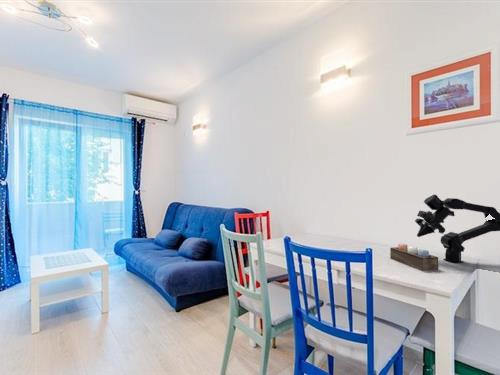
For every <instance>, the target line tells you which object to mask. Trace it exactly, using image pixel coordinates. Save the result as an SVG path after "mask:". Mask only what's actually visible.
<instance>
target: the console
mask: <svg viewBox="0 0 500 375" xmlns="http://www.w3.org/2000/svg"><path fill="white" fill-rule="evenodd" d="M389 253H390V255H389V256H390V257H389V258H390V259H391V260H394V261H397V262H398V263H400V264H404V265H406V266H408V267H412V268H414V269H416V270H419V271H439V256H436V255H432V254H429V257H421V256H418V253H413V254H412V253H409V252H408V247H407V250H399V249H398V246H397V247H390V252H389Z"/></svg>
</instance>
